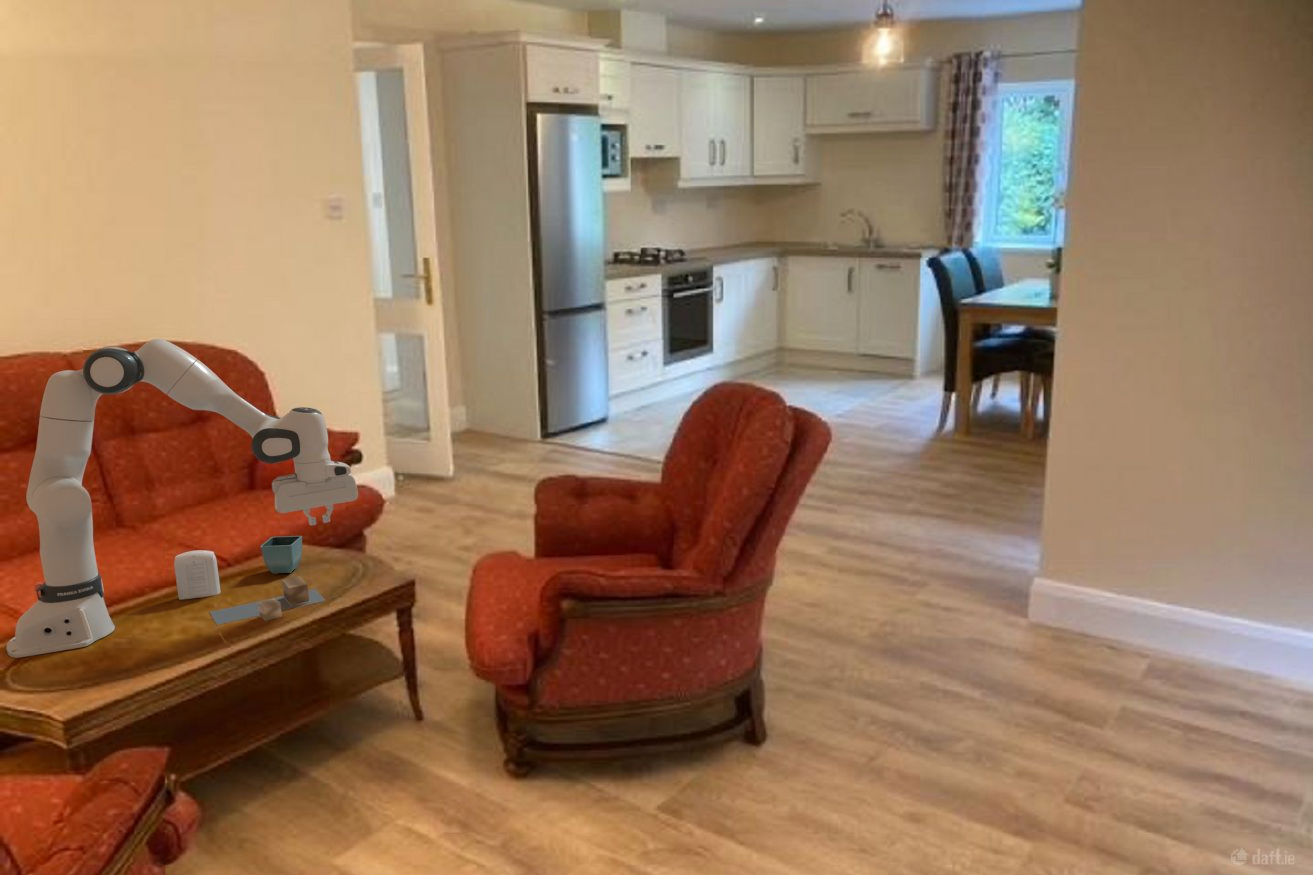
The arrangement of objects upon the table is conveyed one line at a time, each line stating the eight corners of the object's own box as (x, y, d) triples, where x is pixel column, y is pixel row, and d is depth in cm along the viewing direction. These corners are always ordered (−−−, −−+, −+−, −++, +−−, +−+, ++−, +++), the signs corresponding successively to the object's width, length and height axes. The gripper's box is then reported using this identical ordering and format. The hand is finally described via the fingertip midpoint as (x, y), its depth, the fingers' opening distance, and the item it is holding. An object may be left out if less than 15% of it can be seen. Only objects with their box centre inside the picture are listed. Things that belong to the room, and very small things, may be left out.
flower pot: (295, 576, 282) (291, 544, 280) (263, 577, 282) (259, 546, 281) (306, 565, 291) (302, 535, 289) (275, 567, 291) (271, 536, 289)
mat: (217, 626, 248) (216, 625, 248) (209, 613, 257) (209, 611, 257) (326, 601, 261) (325, 600, 261) (315, 589, 270) (315, 588, 270)
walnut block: (291, 606, 258) (288, 588, 257) (284, 597, 265) (281, 579, 264) (309, 602, 260) (307, 584, 259) (301, 593, 267) (299, 576, 266)
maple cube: (266, 622, 249) (263, 606, 248) (259, 618, 252) (257, 602, 251) (282, 617, 252) (280, 602, 251) (275, 613, 254) (273, 598, 254)
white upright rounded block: (222, 590, 273) (215, 546, 271) (220, 595, 269) (213, 550, 267) (180, 596, 270) (173, 551, 268) (177, 601, 266) (170, 556, 264)
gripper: (273, 479, 252) (280, 533, 255) (356, 466, 262) (362, 518, 265) (268, 475, 257) (274, 528, 260) (349, 462, 268) (355, 513, 270)
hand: (319, 523), depth 263 cm, fingers open, 2 cm apart
